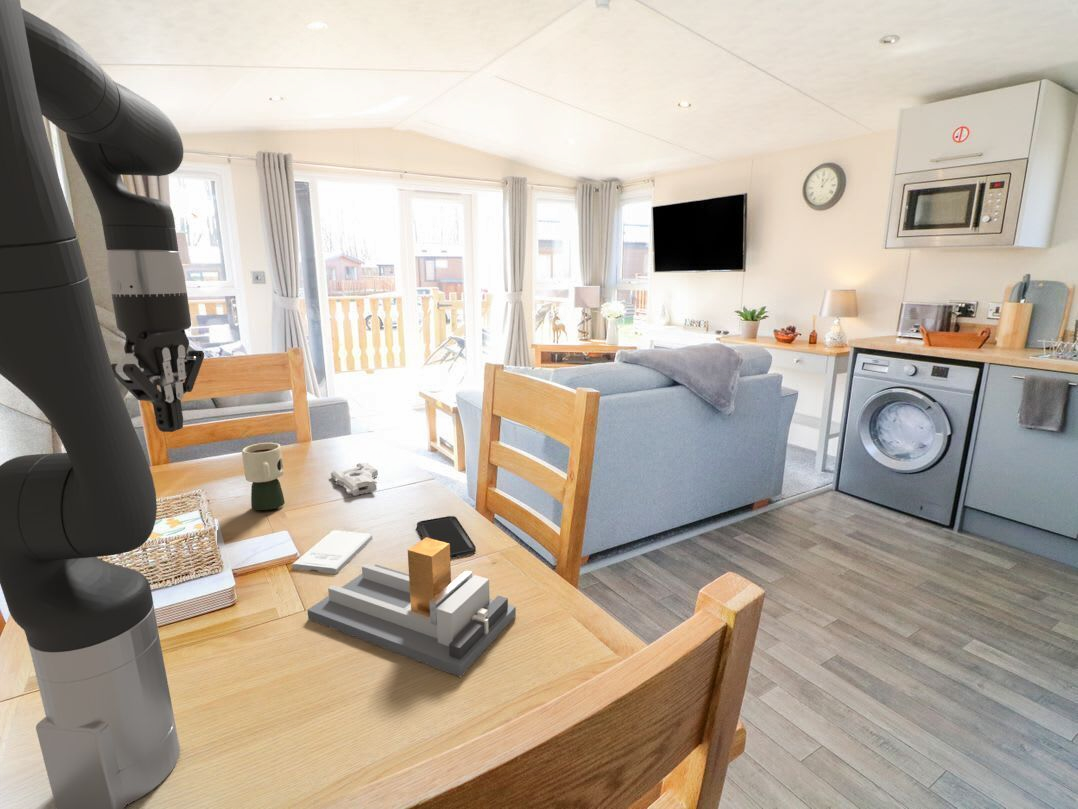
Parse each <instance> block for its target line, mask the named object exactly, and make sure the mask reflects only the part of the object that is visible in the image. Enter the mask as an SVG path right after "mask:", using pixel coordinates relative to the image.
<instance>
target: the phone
mask: <svg viewBox="0 0 1078 809" xmlns="http://www.w3.org/2000/svg"><path fill="white" fill-rule="evenodd" d="M460 522H461V521H459V519H458V517H456V516H455V515H454V516H453V515H447V516H442V517H436V518H431V519H423V520H420V521H418V522H417V523H416V528H417V531H418V534H419V536H420V537H421V539H422V540H423V539H424V538H430V539H434V540H438V541H442V542H445V543H449V544H450V560H451V559H456V558H460V557H465V556H466V557H467V556H470V555H474V554H475V553H476V551H477V550H476V545H475V544H474V542H473V540H472V539H471V537H470V536H469V535H468V533H467V532H466V530H465V528H464V527H463V525H462V524H461V523H460Z"/></svg>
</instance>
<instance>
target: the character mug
mask: <svg viewBox="0 0 1078 809" xmlns="http://www.w3.org/2000/svg"><path fill="white" fill-rule="evenodd" d="M281 447H282V446H281V444H280V443H275V442H261V443H260V442H259V443H255V444H251V445H247V446H245V447H244V448H242V450H241V456H242V464H243V470H244V478H245V480H246V481H247V482H251V489H250V490H251V494H250V495H251V496H250V498H251V499H250V500H251V502H250V503H251V504H250V505H251V506H250V508H251V510H254V511H263V510H264V511H265V510H268V511H271V510H273V509H278V508H281V507H283V505H284V504H285V503H286V502H285V497H284V496H285V495H284V494H283V493H284V492H283V489H282V485H281V482H280V480H279V479H278V478H280V477H282V476H283V475H284V462H283V456H282V448H281Z"/></svg>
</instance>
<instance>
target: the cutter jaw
mask: <svg viewBox="0 0 1078 809" xmlns="http://www.w3.org/2000/svg"><path fill="white" fill-rule="evenodd" d="M407 562H408V563H407V564H408V574H409V583H410V600H411V603H410V604H409V605H407V606H406V607H405V608H404V609H407V610H410V611H413V612H416V613H419V614H422V615H425V616H428V617H430V623H432V624H435V625H437V615H436V608H437V607H438V606H440V605H441V604H442V603H443V602H444V601H445V600H446V599H448V598H449V597H450V596H451V595H452V594H453V593H454V592H456V591H457V590H458V589H459V588H460V587H461V586H462V585H464V584H465V583H466V582H467V581H468V580H469V579H471V578H472V577H473V575H472V574H473V572H472V571H469V570H465V571H464V572H462V573H461V574H459V575H458V577H456V578H455V579H454V580H453V581H452V571H451V570H452V569H451V567H452V566H451V559H450V544H449V543H445V542H442V541H438V540H434V539H430V538H424V539H422V540H419V542H417V543H416V544H414V545H413V546H411V547H410V548H408V549H407Z"/></svg>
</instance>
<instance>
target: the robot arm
mask: <svg viewBox="0 0 1078 809" xmlns="http://www.w3.org/2000/svg"><path fill="white" fill-rule="evenodd" d="M43 117H44V118H45V119H47V120H48V121H49V122H51V124H53V125H54V126H56V127H57V128H58V129H60V130H61V131H63V132H64V133H65V135H66V139H67V143H68V146H69V148H70V150H71V154H72V155H73V156H74V159H75V161H76V162H77V164H78V167H79V169H80V170H81V172H82V175H83V176H84V179H85V182H87V186H88V187H89V190H90V192H91V194H92V198H93V199H94V201H95V204H96V206H97V209H98V211H99V215H100V219H101V225H102V230H103V236H104V237H103V238H104V242H105V248H106V258H107V260H106V261H107V263H106V264H107V276H108V281H109V283H108V284H109V287H110V293H111V299H112V306H113V310H114V316H115V317H114V318H115V323H116V328H117V329H118V331H120V332H121V333H123V334H124V335H125V343H124V347H123V350H124V354H125V355H124V357H123V358H122V359H121V361H120V362H119V363H112V364H111V360H110V357H109V354H108V351H107V350H108V349H107V346H106V342H105V339H104V336H103V333H102V329H101V328H102V327H101V325H100V321H99V317H98V312H97V309H96V304H95V301H94V297H93V293H92V288H91V283H90V282H91V281H90V278H89V275H88V272H87V268H86V265H85V264H86V263H85V261H84V257H83V253H82V250H81V245H80V243H79V239H78V237H77V231H76V228H75V226H74V222H73V219H72V216H71V213H70V210H69V207H68V202H67V200H66V197H65V194H64V191H63V188H62V184H61V182H60V177H59V174H58V170H57V165H56V163H55V159H54V155H53V152H52V149H51V145H50V141H49V137H48V134H47V130H46V129H47V128H46V125H45V122H44V118H43ZM183 160H184V145H183V140H182V138H181V136H180V133H179V131H178V129H177V128H176V126H175V124H174V123H173V122H172V120H171V119H170V118H169V117H168V115H167V114H166V113H165V112H163V111H162V110H161V109H160V108H159V107H158V106H156V105H155V104H154V103H152V102H151V101H150V100H147V99H145V98H144V97H143V96H140V94H137V93H135V92H134V91H132V90H131V89H129V88H128V87H126V86H124V85H122V84H120V83H118V82H116V81H114V80H113V79H112V77H111V76H110V75H109V74H108V73H107V72H106V71H105V70H104V69H103V68H102V67H101V66H100V64H98V62H96V60H95V59H94V58H93V57H92V56H91V54H89V53H88V52H87V51H86V50H85V49H84V48H83V47H82V46H81V45H80V44H79V43H77V41H75V40H74V39H73V38H71V37H69V35H67V34H66V33H64V32H63V31H62V30H60V29H58V28H57V27H55V26H54V25H52V24H50V23H49V22H48V21H46V20H44V19H42V18H40V17H38V16H37V15H34V14H33V13H31V12H29V11H28V10H26V9H24V8H22V4H21V0H0V375H1V376H2V377H3V378H4V379H6V380H7V381H9V382H10V383H11V384H12V385H13V386H15V387H16V388H17V389H18V390H19V391H20V392H22V394H24V395H25V396H26V397H27V398H29V399H30V400H31V402H33V404H34V405H35V406H36V407H37V408H38V409H39V410H40V411H41V412H42V414H44V416H45V418H46V419H48V421H49V423H50V424H51V426H52V428H54V430H55V432H56V434H57V435H58V437H59V440H60V442H61V443H62V446H63V447H64V450H65V452H57V453H55V452H54V453H38V454H37V453H36V454H35V453H34V454H28V455H25V454H24V455H21V456H17V457H14V458H10V459H9V460H6V461H4V462H3V463H2V464H0V588H1V590H2V594H3V596H4V599H5V602H6V606H7V609H8V612H9V614H10V616H11V619H13V620H14V623H16V624H17V625H18V626H19V627H20V628H21V629H22V630H23V631H24V634H25V636H26V641H27V643H28V648H29V652H30V656H31V660H32V663H33V667H34V673H35V676H36V681H37V685H38V689H39V693H40V697H41V701H42V706H43V709H44V710H43V711H44V715H45V717H43V718H42V719H41V720H40V721H38V723H36V725H35V732H36V735H37V739H38V742H39V746H40V750H41V755H42V759H43V761H44V766H45V770H46V773H47V779H48V782H49V785H50V786H49V787H50V789H51V794H52V798H53V803H54V806H55V809H56V808H57V809H125V808H126V805H127V804H128V805H130V804H132V803H133V801H134V802H135V801H137V800H139V799H141V798H143V797H144V796H145V795H147V794H149V793H150V792H152V791H153V790H155V789H156V787H158V786H159V785H160V784H161V783H162V782H163V781H164V780H165V779H166V778H167V777H168V776H169V774H171V772H172V771H173V770H174V768H175V766H176V765H177V762H178V760H179V757H180V753H181V752H180V751H181V750H180V749H181V747H180V744H179V742H180V741H179V737H178V731H177V726H176V719H175V714H174V709H173V706H172V705H173V704H172V698H171V693H170V689H169V688H170V687H169V682H168V676H167V671H166V666H165V660H164V655H163V649H162V643H161V639H160V633H159V629H158V628H159V627H158V622H157V616H156V611H155V605H154V600H153V594H152V589H151V585H150V582H149V580H148V578H147V577H146V576H145V575H144V574H143V573H141V571H137V570H136V569H133V568H130V567H126V566H121V565H119V564H115V563H112V562H108V561H105V560H103V559H101V557H108V556H115V555H121V554H126V553H130V552H132V551H135V550H136V549H139V548H140V547H142V546H143V545H144V544H145V543H146V542H147V541H148V540H149V538H150V537H151V534H152V533H153V530H154V527H155V524H156V520H157V510H158V507H157V506H158V505H157V503H158V502H157V494H156V488H155V484H154V477H153V474H152V472H151V467H150V465H149V462H148V460H147V457H146V454H145V452H144V450H143V447H142V444H141V441H140V439H139V436H138V434H137V432H136V429H135V426H134V424H133V422H132V419H131V416H130V413H129V411H128V409H127V405H126V404H125V401H124V398H123V395H122V393H121V391H120V388H119V386H118V382H117V381H119V383H121V385H122V386H124V387H125V389H127V391H128V392H129V393H130V394H131V395H132V396H133V397H134V398H135V399H136V400H138V401H144V402H149V403H151V404H152V406H153V411H154V412H153V414H154V417H155V418H154V419H155V423H156V424H155V425H156V426H157V429H158V430H159V431H160V432H162V433H163V432H164V433H173V432H176V431H179V430H182V429H183V427H184V424H183V423H184V415H183V409H182V408H183V407H182V402H181V400H183V398H184V395H185V394H186V393H191V392H192V391H193V389H194V387H195V386H194V385H195V383H196V380H197V378H198V375H199V372H200V370H201V367H202V364H203V361H204V359H205V352H204V351H203V350H198V349H194V348H193V347H192V346H190V340H189V337H188V336H187V334H186V331H185V330H188V329H190V328H191V326H192V320H191V312H190V306H189V298H188V292H187V291H188V290H187V285H186V284H187V283H186V277H185V276H186V275H185V271H184V268H183V264H182V260H181V258H180V257H181V256H180V252H179V246H178V239H177V238H178V237H177V233H176V232H177V231H176V222H175V218H174V212H173V210H172V208H171V206H170V205H169V204H168V203H167V202H165V201H163V200H161V199H158V198H154V197H148V196H144V195H139V194H135V193H132V192H131V191H130V190H129V188H127V186H126V185H125V183H124V181H123V179H122V176H147V177H148V176H149V177H161V176H164V177H165V176H167V175H171V174H173V173H175V172H176V171H177V170H178V169H179V168H180V167H181V164H182V163H183ZM116 379H117V380H116ZM131 802H132V803H131ZM129 803H130V804H129ZM128 805H127V806H128ZM124 807H125V808H124Z"/></svg>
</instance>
